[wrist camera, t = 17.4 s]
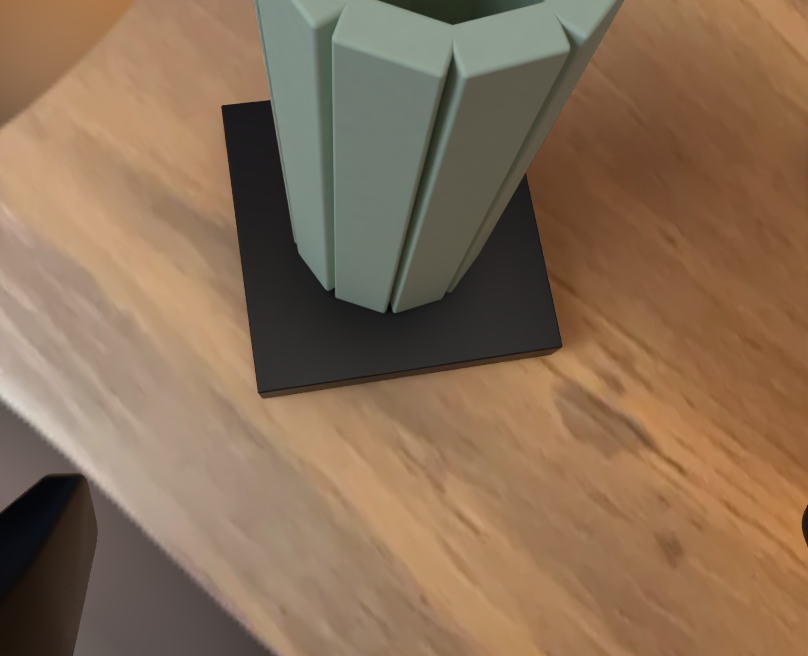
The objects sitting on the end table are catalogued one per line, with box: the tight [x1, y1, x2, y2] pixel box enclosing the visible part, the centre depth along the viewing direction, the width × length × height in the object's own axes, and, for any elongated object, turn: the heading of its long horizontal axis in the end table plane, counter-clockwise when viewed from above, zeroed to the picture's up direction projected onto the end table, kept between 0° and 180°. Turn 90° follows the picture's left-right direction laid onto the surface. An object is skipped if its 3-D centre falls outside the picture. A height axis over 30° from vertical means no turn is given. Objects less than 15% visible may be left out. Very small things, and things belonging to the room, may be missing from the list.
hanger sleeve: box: [254, 0, 624, 313], centre depth 17 cm, size 6×6×13 cm
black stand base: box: [221, 100, 562, 398], centre depth 21 cm, size 9×9×6 cm
